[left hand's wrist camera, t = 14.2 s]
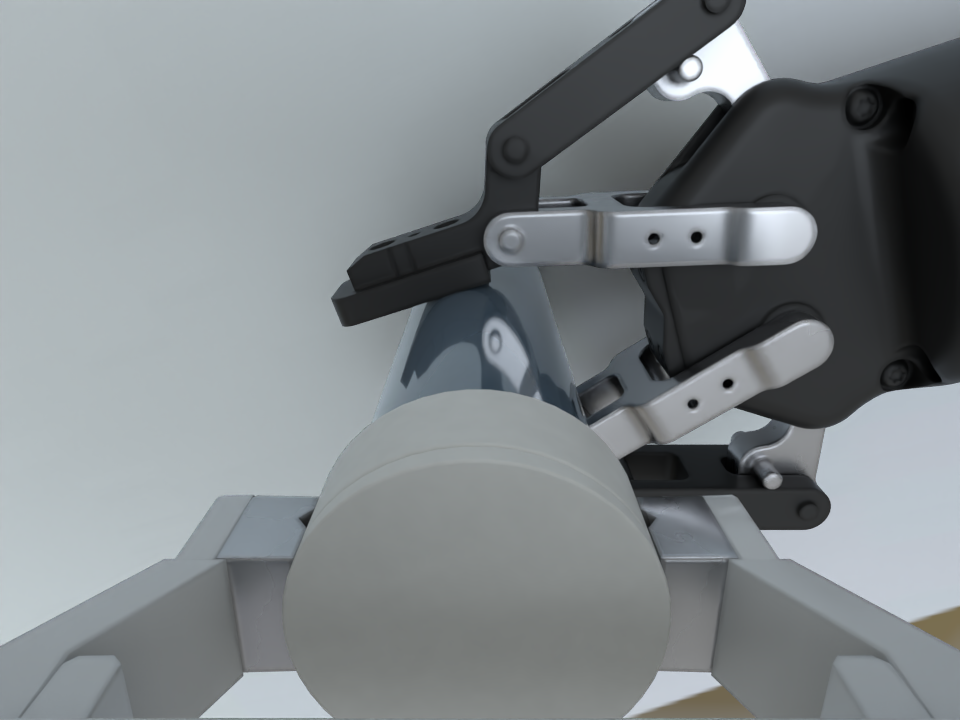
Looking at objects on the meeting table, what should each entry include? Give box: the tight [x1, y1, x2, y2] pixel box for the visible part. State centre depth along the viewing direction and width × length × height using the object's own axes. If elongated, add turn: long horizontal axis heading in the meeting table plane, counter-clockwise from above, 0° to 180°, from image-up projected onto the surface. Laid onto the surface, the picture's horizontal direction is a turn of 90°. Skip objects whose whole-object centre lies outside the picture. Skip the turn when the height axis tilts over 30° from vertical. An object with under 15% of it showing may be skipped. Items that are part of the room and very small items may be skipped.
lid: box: [282, 389, 671, 718], centre depth 9 cm, size 5×5×2 cm
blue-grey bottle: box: [372, 266, 589, 427], centre depth 16 cm, size 4×4×15 cm
